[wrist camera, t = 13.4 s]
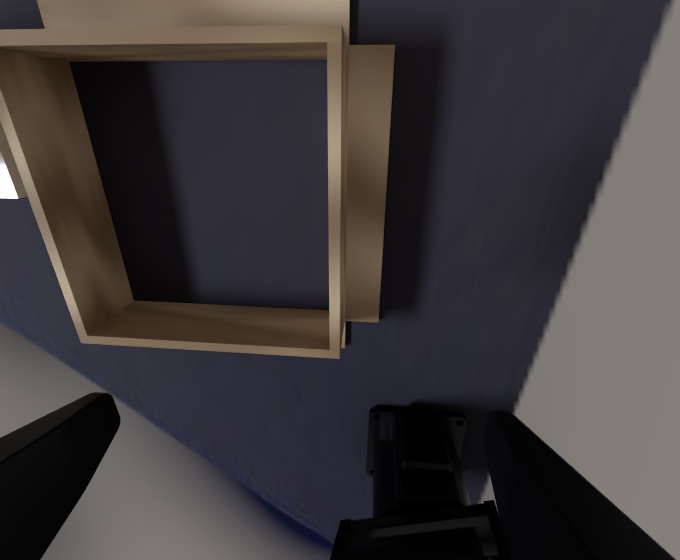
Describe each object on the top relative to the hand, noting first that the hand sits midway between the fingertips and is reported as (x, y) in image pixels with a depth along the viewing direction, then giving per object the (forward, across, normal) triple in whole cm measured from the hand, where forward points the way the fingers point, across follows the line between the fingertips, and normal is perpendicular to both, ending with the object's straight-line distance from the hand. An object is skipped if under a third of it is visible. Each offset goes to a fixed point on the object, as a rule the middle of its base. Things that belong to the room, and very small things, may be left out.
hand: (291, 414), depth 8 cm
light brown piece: (+12, +7, -3) cm, 14 cm away
